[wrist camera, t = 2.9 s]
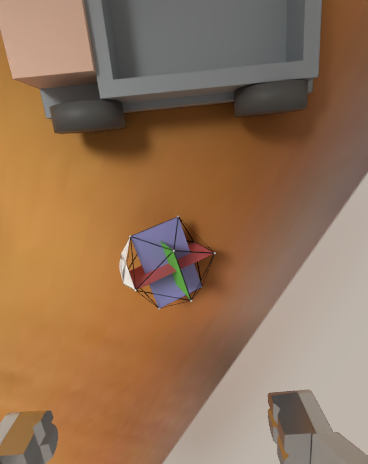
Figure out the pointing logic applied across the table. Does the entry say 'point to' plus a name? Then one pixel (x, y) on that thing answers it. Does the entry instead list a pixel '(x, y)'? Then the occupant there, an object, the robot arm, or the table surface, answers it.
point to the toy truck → (161, 56)
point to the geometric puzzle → (164, 263)
